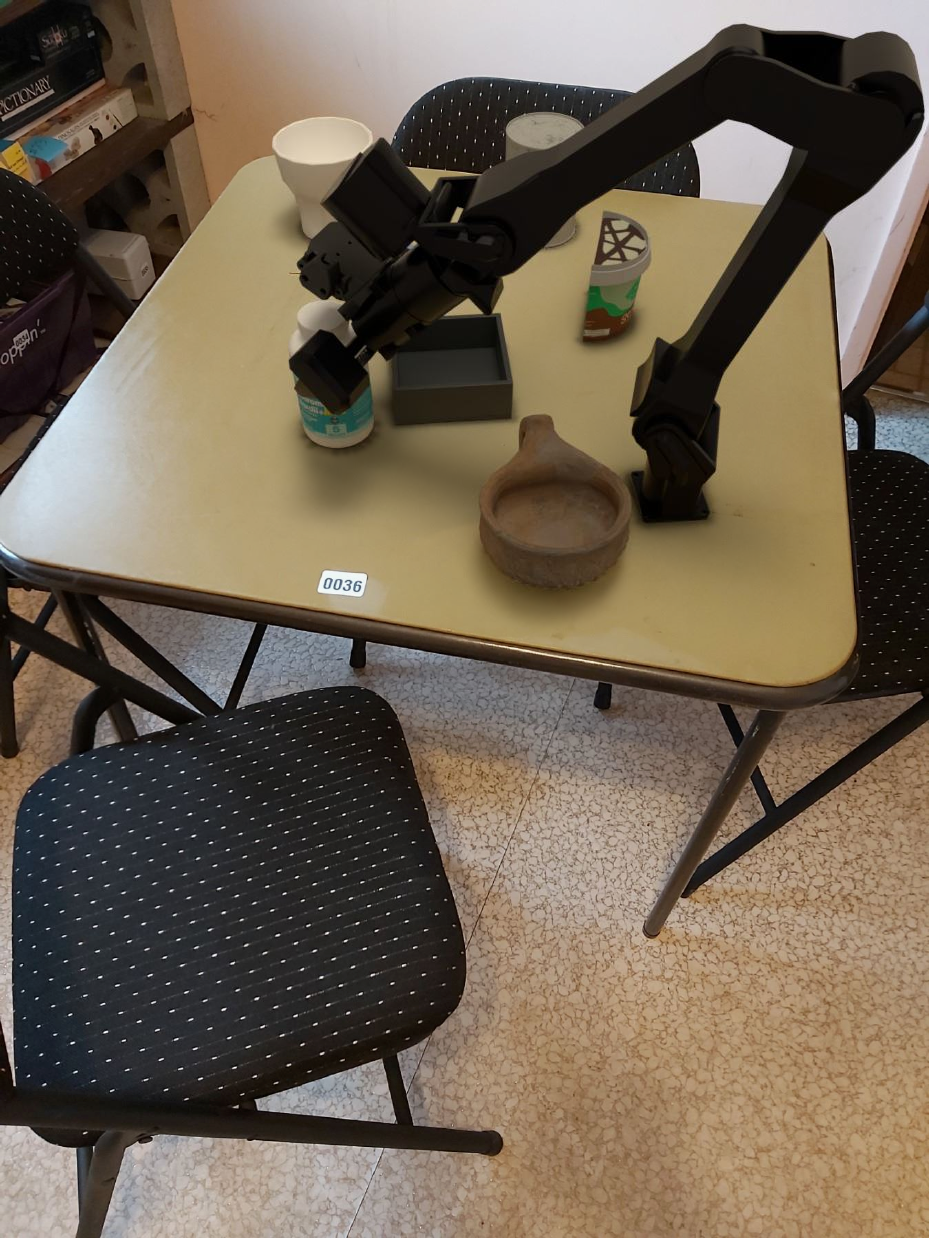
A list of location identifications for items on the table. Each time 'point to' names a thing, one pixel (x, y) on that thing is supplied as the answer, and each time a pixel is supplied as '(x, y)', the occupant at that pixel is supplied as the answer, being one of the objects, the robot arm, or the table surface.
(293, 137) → the cup
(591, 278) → the food container
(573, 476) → the bowl
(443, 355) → the dark gray square tray
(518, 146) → the marbled stone cylinder
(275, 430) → the table surface
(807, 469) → the table surface
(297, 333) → the pill bottle
